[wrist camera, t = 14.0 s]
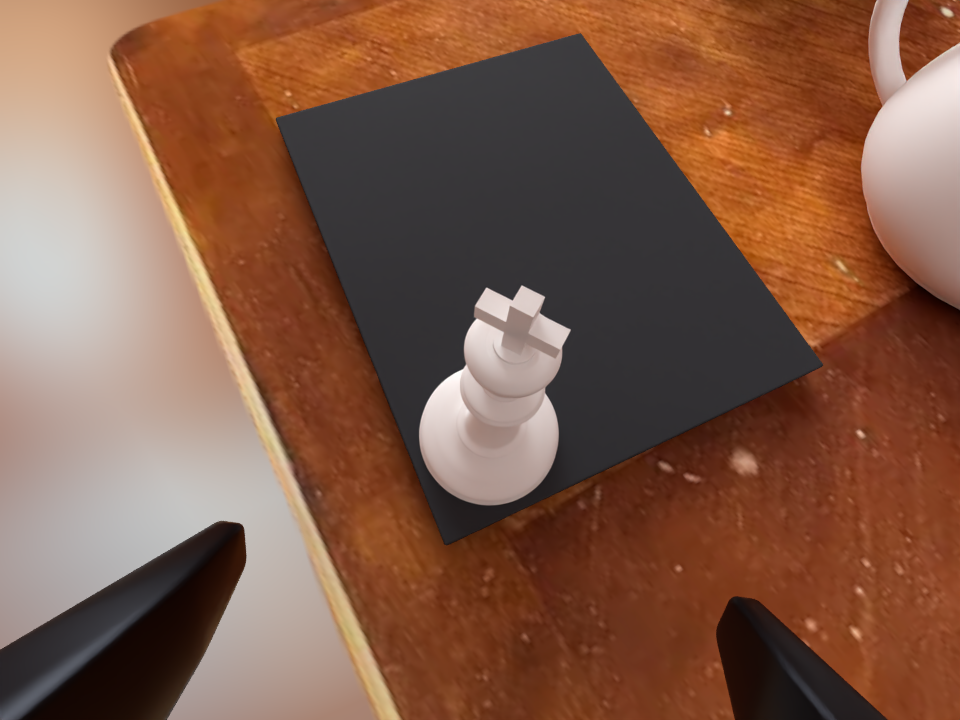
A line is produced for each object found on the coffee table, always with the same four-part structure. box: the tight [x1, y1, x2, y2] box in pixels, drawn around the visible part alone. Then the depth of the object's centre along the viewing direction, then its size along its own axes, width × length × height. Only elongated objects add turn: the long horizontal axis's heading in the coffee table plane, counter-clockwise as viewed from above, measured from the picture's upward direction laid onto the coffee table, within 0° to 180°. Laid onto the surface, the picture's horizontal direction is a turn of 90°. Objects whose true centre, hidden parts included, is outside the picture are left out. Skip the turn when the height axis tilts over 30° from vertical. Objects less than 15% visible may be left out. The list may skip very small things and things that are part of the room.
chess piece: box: [419, 286, 571, 505], centre depth 13 cm, size 5×5×10 cm
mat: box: [276, 33, 823, 545], centre depth 21 cm, size 16×20×1 cm
